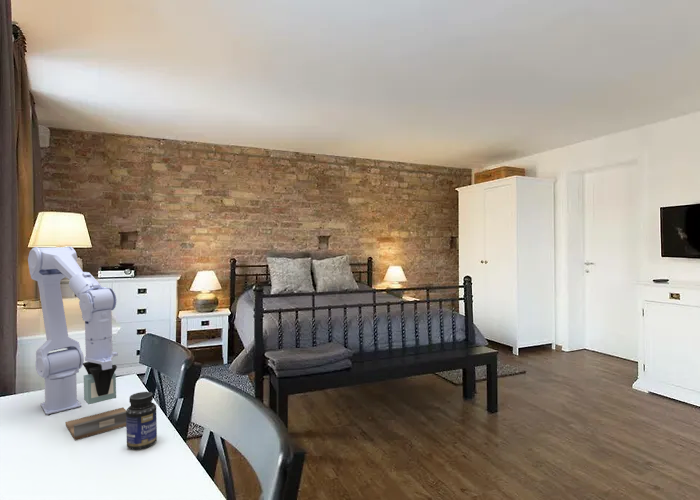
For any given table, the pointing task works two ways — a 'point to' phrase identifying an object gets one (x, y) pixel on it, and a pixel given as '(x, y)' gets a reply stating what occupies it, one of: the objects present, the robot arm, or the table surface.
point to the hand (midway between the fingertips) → (100, 392)
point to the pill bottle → (141, 421)
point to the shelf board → (97, 423)
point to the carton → (91, 392)
